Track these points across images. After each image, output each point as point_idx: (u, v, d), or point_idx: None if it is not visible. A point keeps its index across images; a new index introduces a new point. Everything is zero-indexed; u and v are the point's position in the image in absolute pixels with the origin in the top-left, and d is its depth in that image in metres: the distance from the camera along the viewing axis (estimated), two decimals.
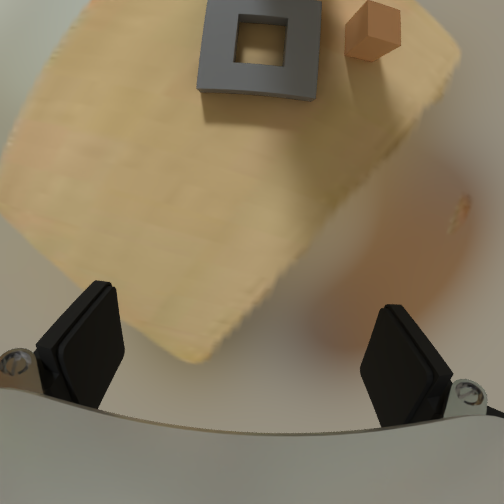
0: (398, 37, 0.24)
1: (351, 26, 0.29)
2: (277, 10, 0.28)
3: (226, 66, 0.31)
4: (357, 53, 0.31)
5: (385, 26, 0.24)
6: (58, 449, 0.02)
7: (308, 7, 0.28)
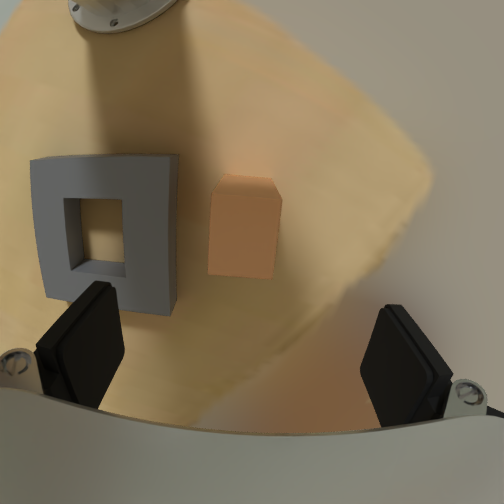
0: (269, 264, 0.19)
1: None
2: (106, 187, 0.23)
3: (65, 275, 0.25)
4: None
5: (244, 247, 0.18)
6: (58, 449, 0.02)
7: (150, 173, 0.22)
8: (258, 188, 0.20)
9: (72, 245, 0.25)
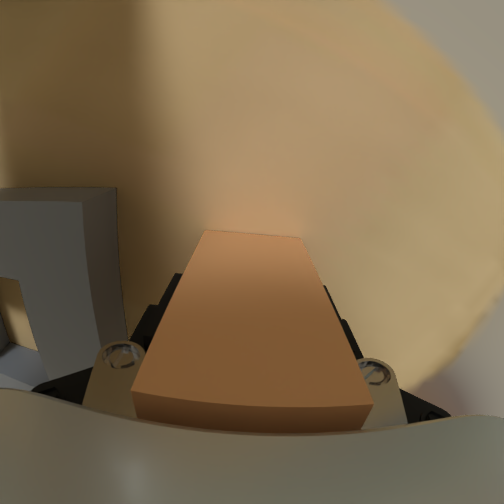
0: None
1: None
2: None
3: None
4: None
5: None
6: (58, 449, 0.02)
7: (51, 235, 0.10)
8: (284, 309, 0.07)
9: None
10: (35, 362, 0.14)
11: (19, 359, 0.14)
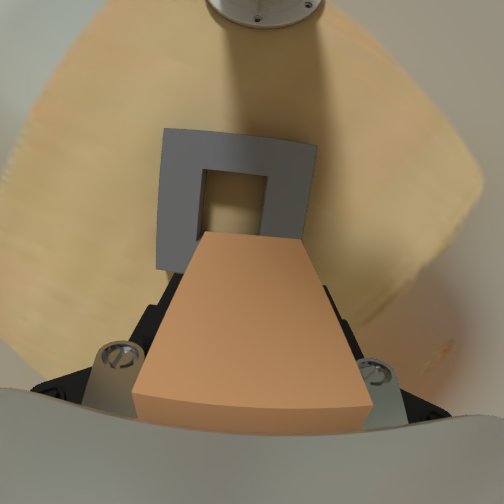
0: None
1: None
2: (254, 164, 0.27)
3: (188, 246, 0.29)
4: None
5: None
6: (58, 449, 0.02)
7: (298, 156, 0.27)
8: (284, 310, 0.07)
9: (199, 216, 0.29)
10: None
11: None
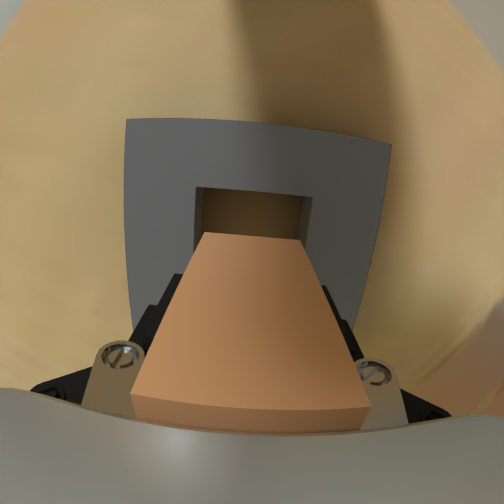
0: None
1: None
2: (288, 176, 0.15)
3: None
4: None
5: None
6: (58, 449, 0.02)
7: (362, 162, 0.15)
8: (283, 311, 0.07)
9: None
10: None
11: None
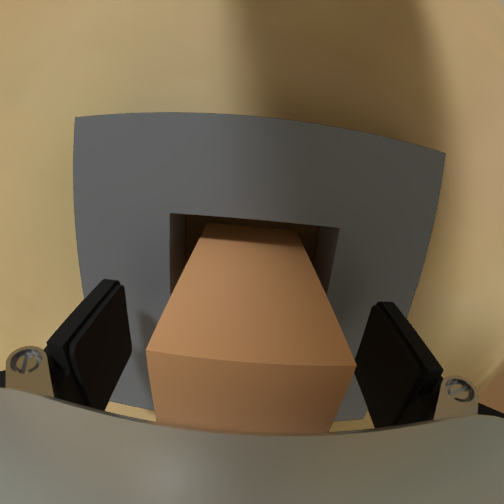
0: None
1: None
2: (305, 197, 0.10)
3: None
4: None
5: None
6: (58, 449, 0.02)
7: (408, 178, 0.10)
8: (280, 288, 0.08)
9: None
10: None
11: None
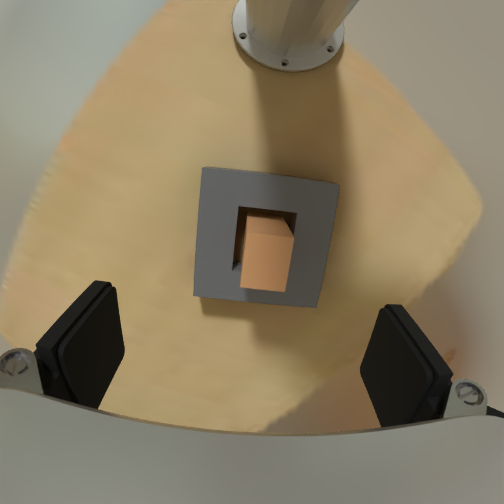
0: (283, 281, 0.27)
1: (245, 230, 0.32)
2: (285, 202, 0.31)
3: (224, 275, 0.33)
4: None
5: (266, 269, 0.26)
6: (58, 449, 0.02)
7: (323, 195, 0.30)
8: (276, 227, 0.29)
9: None
10: None
11: None
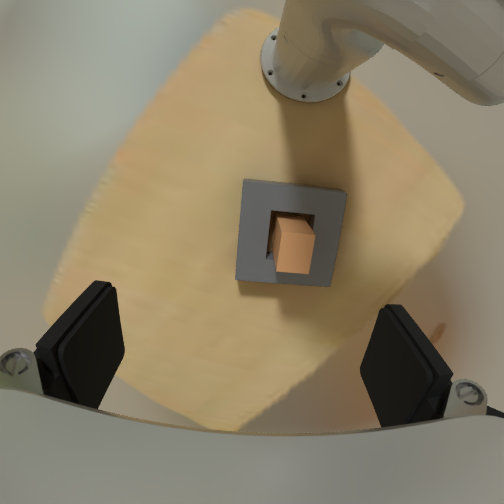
0: (307, 266, 0.37)
1: (276, 228, 0.42)
2: (306, 206, 0.40)
3: (260, 262, 0.43)
4: None
5: (295, 258, 0.36)
6: (58, 449, 0.02)
7: (334, 201, 0.40)
8: (300, 226, 0.38)
9: None
10: None
11: None
